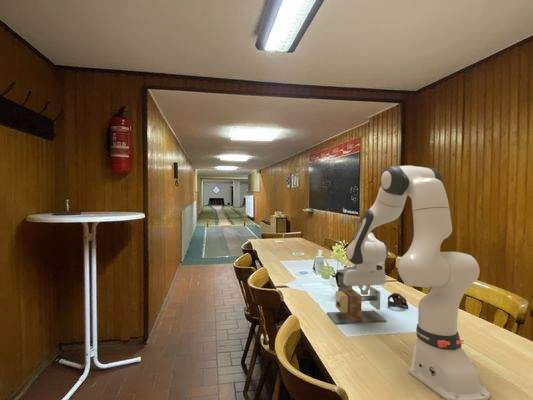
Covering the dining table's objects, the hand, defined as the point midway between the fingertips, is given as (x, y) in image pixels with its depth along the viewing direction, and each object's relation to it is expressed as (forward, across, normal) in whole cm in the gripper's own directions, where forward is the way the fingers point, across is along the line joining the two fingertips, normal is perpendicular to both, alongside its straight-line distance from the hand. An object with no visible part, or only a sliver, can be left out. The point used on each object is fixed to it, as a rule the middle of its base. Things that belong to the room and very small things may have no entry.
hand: (364, 294), depth 146 cm
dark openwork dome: (+10, +22, +8) cm, 26 cm away
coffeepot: (+10, 0, +24) cm, 26 cm away
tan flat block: (+2, -12, -3) cm, 13 cm away
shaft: (+5, -5, -3) cm, 8 cm away
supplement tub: (+10, +36, +59) cm, 70 cm away
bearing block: (+10, -5, -3) cm, 12 cm away
